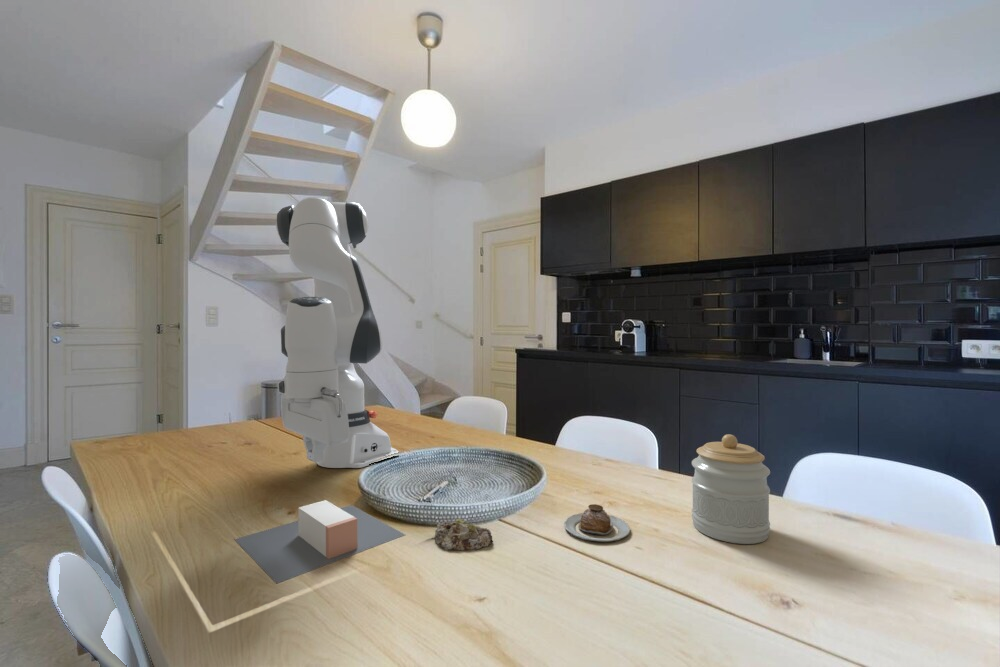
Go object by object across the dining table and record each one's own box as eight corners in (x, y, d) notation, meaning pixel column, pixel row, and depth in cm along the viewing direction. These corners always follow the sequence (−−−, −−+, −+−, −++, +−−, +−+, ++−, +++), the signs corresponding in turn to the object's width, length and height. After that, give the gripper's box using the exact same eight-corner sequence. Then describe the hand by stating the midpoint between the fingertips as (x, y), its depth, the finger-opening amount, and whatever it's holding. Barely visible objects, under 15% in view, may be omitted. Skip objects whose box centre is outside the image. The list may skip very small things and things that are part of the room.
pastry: (581, 513, 94) (581, 491, 94) (639, 528, 87) (639, 503, 87) (552, 535, 84) (552, 509, 84) (615, 553, 77) (615, 525, 77)
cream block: (325, 500, 86) (357, 518, 77) (325, 526, 86) (357, 548, 77) (298, 507, 82) (328, 527, 74) (298, 535, 82) (328, 558, 74)
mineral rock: (424, 537, 78) (442, 507, 86) (426, 558, 79) (444, 526, 87) (485, 547, 75) (498, 515, 83) (486, 568, 77) (499, 535, 84)
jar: (766, 522, 89) (766, 430, 88) (774, 552, 77) (774, 446, 77) (692, 511, 94) (692, 424, 94) (689, 537, 82) (690, 438, 82)
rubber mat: (351, 507, 96) (351, 504, 96) (405, 538, 82) (405, 534, 82) (234, 542, 81) (234, 539, 81) (276, 587, 67) (276, 583, 67)
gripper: (357, 388, 79) (359, 468, 80) (306, 379, 93) (308, 446, 94) (321, 393, 75) (324, 477, 75) (273, 382, 89) (276, 453, 89)
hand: (315, 460), depth 85 cm, fingers closed
